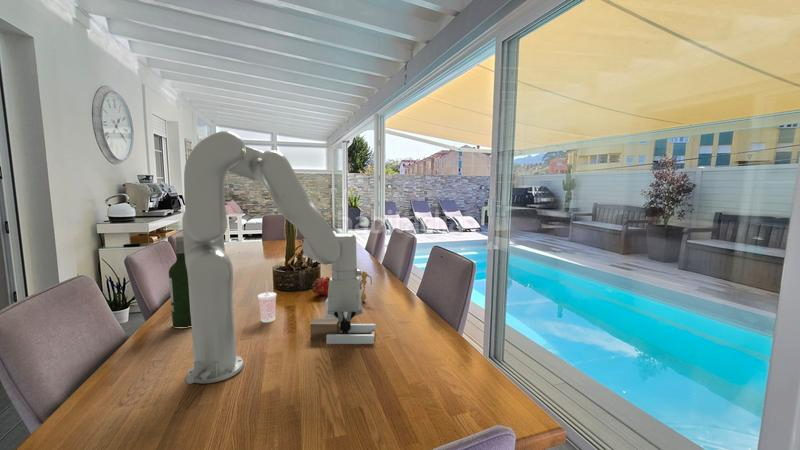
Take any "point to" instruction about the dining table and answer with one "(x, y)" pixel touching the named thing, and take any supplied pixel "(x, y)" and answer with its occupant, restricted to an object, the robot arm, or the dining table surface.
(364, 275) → the figurine
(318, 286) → the dragon fruit
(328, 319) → the block
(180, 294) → the wine bottle
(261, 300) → the beverage cup
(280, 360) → the dining table surface
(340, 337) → the channel
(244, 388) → the dining table surface
